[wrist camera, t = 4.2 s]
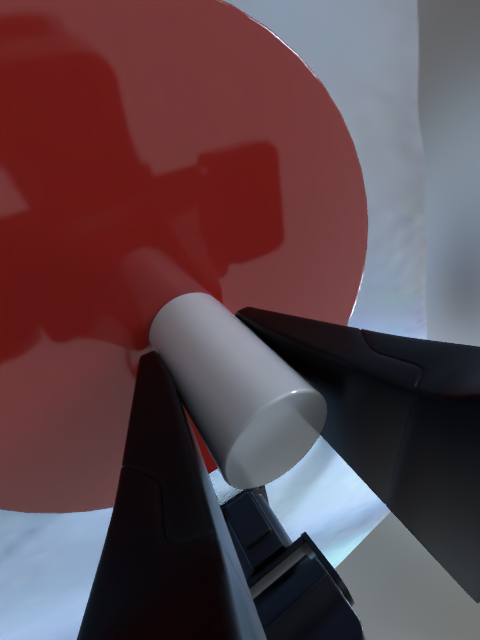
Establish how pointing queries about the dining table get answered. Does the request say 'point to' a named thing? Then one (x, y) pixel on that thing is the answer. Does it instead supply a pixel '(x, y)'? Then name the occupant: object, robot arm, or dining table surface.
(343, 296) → the dutch oven lid
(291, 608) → the robot arm
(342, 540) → the dining table surface
